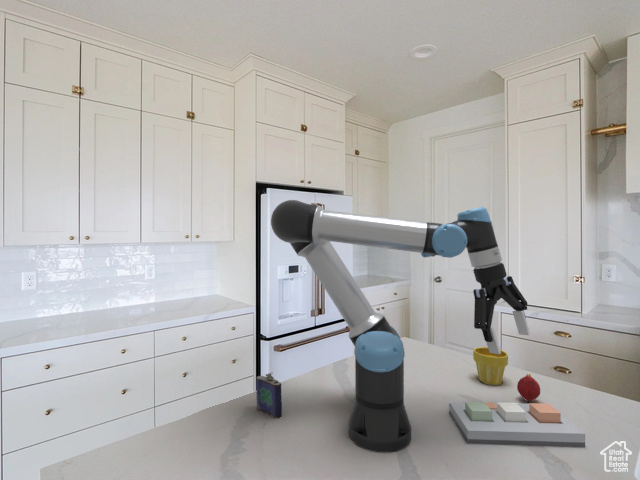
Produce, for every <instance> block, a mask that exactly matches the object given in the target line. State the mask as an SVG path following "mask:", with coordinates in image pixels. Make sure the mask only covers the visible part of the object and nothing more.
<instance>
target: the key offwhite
mask: <svg viewBox="0 0 640 480" xmlns="http://www.w3.org/2000/svg"><path fill="white" fill-rule="evenodd" d="M496 403H497V414H498V415H499V416H500V417H501V418H502V419H503V421H504V422H520V423H526V412H525V411H524V410H523V409H522V408H521V407H520V406H519V405H518V404H519V403H517V402H496Z"/></svg>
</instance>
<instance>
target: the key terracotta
mask: <svg viewBox="0 0 640 480" xmlns="http://www.w3.org/2000/svg"><path fill="white" fill-rule="evenodd" d="M528 404H529V414H530V415H531V416H532V417H533V418H534V419H535V420H537V421H538V422H539V423H558V424H561V415H562V414H561V412H559V411H558V409H556V408H555V407H553V405H551V404H550V403H536V402H532V403H530V402H529V403H528Z"/></svg>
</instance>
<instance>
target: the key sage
mask: <svg viewBox="0 0 640 480" xmlns="http://www.w3.org/2000/svg"><path fill="white" fill-rule="evenodd" d="M464 402H465V413H466V415H467V416H468V418H469V419H470V421H483V422H492V411H491V409H490V408H489V407H488V406H487V405H486V404H485V403H486V402H485V403H484V401H464Z"/></svg>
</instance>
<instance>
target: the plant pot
mask: <svg viewBox="0 0 640 480" xmlns="http://www.w3.org/2000/svg"><path fill="white" fill-rule="evenodd" d="M500 351H501V353H500V354H494V353H489V349H488V346H487V347H485V346H480V347H479V346H478V347H475V348H474V349H473V351H472V354H473V355H472V356H473V361H474V362H475V366H476V369H477V376H478V380H479V381H480V382H482V383H483V384H486V385H491V386H499V385H501V384H502V382H503V376H504V375H505V374H504V373H505V370H506V367H507V366H508V364H509V354H508V352H506V351H505V350H502V349H500Z"/></svg>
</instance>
